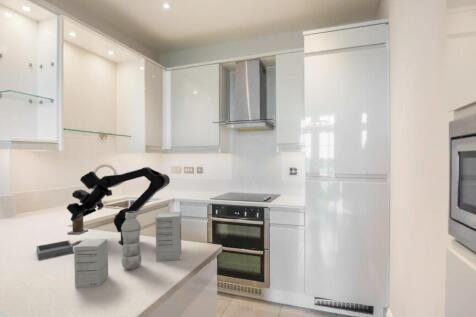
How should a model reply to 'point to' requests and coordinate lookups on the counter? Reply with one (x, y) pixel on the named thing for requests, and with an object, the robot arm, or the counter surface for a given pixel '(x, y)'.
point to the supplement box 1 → (91, 262)
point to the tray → (54, 249)
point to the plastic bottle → (131, 241)
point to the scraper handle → (77, 227)
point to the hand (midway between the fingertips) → (75, 219)
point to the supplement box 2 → (168, 236)
